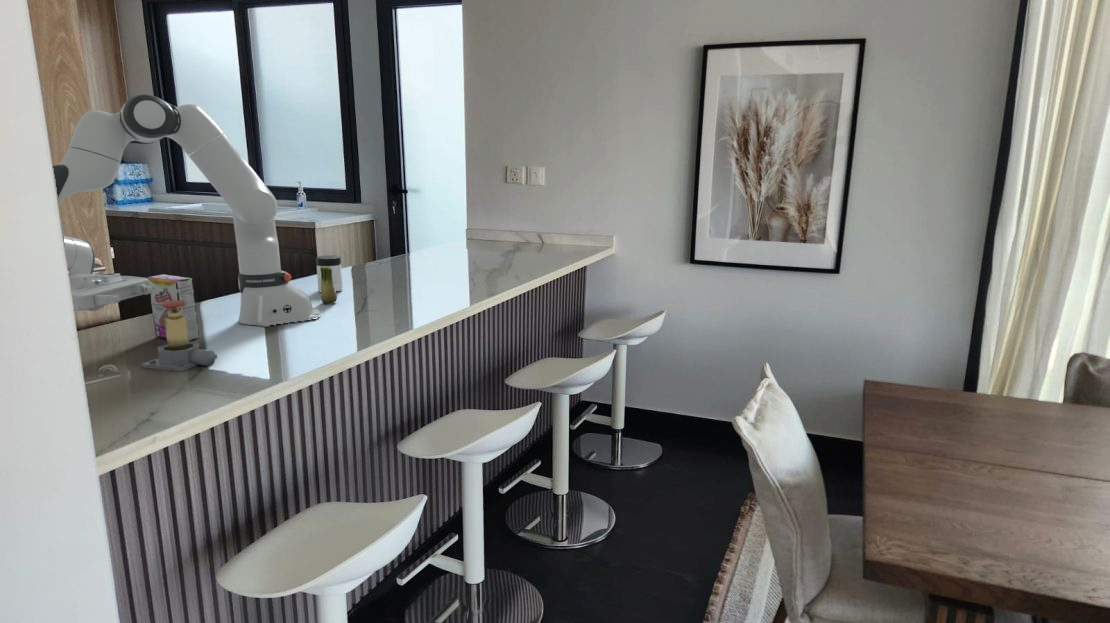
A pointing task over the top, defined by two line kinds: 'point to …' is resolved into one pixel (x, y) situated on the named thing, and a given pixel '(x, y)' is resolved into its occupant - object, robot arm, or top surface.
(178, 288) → the candy bar box
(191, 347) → the fitting
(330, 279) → the fennel bulb
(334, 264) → the jar
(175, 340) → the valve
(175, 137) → the robot arm
